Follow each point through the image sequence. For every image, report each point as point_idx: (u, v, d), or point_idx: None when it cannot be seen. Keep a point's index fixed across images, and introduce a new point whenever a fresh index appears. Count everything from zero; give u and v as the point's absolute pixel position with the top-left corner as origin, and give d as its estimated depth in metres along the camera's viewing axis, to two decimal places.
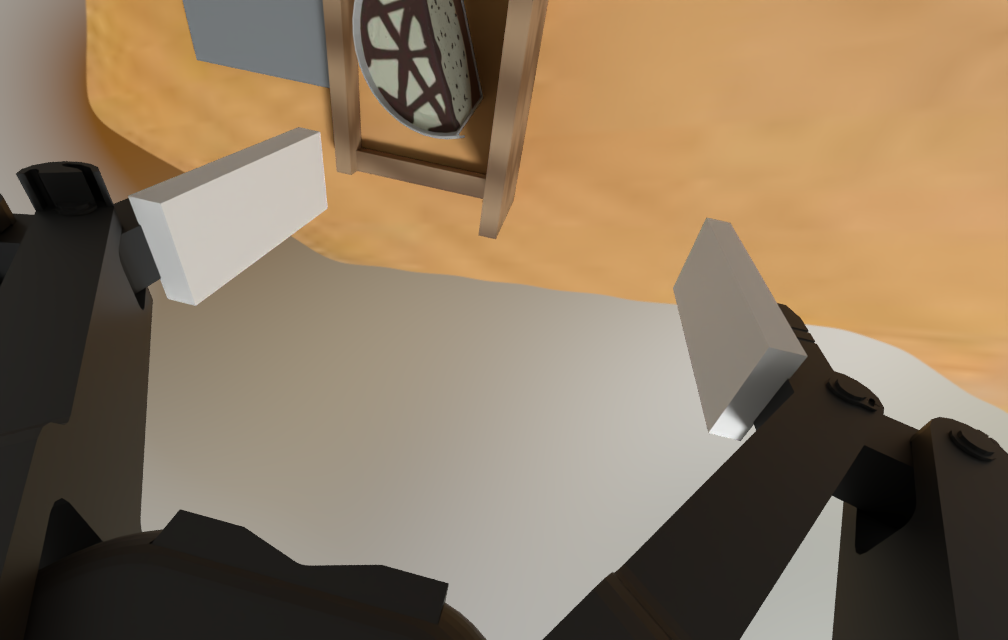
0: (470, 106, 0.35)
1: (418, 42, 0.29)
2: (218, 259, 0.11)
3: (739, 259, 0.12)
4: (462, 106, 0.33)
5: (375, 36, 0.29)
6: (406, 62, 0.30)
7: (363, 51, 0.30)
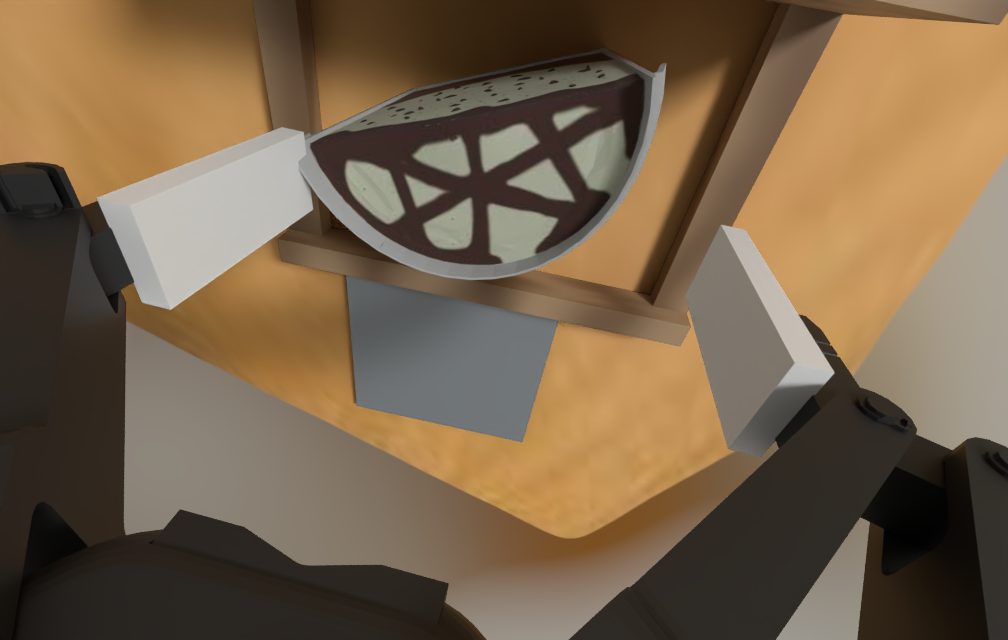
0: (606, 62, 0.16)
1: (453, 153, 0.14)
2: (194, 262, 0.11)
3: (757, 268, 0.11)
4: (597, 72, 0.14)
5: (453, 237, 0.16)
6: (492, 186, 0.14)
7: (476, 265, 0.16)
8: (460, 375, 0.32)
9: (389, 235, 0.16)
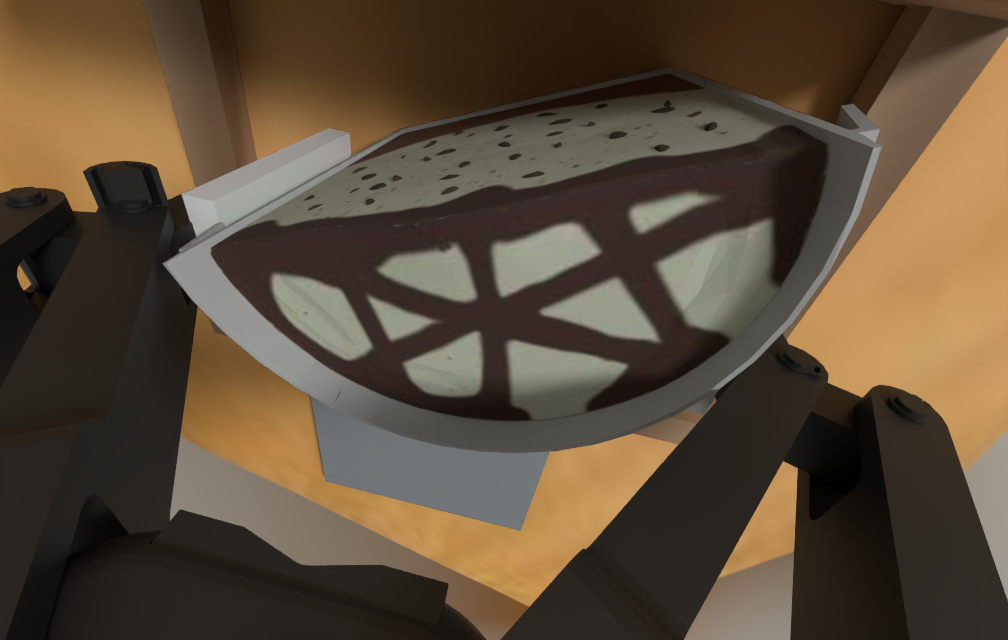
0: (695, 93, 0.10)
1: (445, 269, 0.08)
2: None
3: None
4: (695, 116, 0.08)
5: (451, 382, 0.10)
6: (515, 316, 0.08)
7: (490, 421, 0.10)
8: (444, 458, 0.26)
9: (350, 376, 0.10)
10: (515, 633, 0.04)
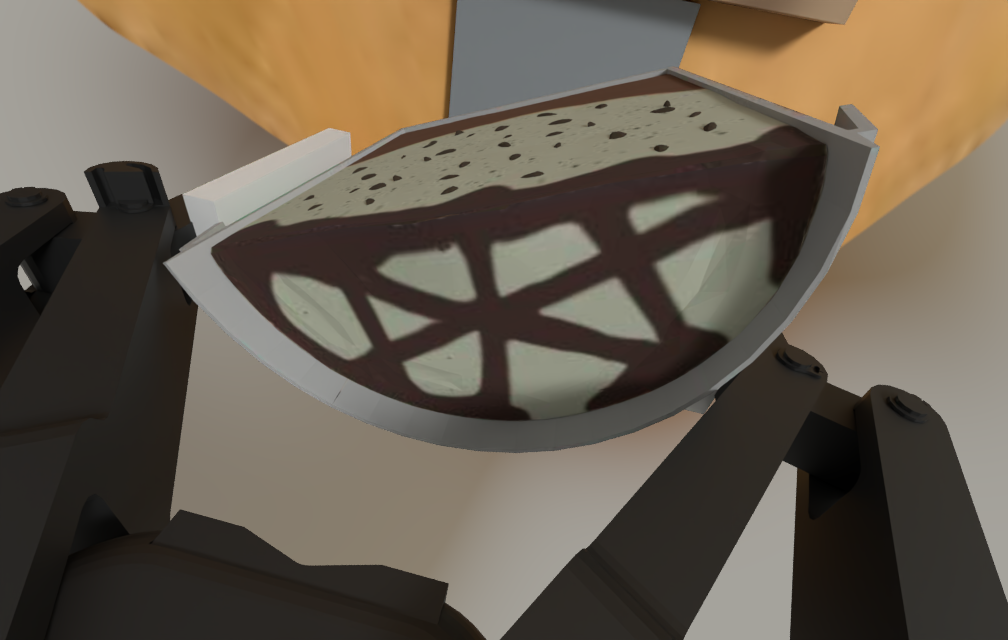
0: (695, 93, 0.10)
1: (445, 269, 0.08)
2: None
3: None
4: (694, 117, 0.08)
5: (451, 381, 0.10)
6: (514, 316, 0.08)
7: (489, 421, 0.10)
8: None
9: (351, 376, 0.10)
10: (515, 632, 0.04)
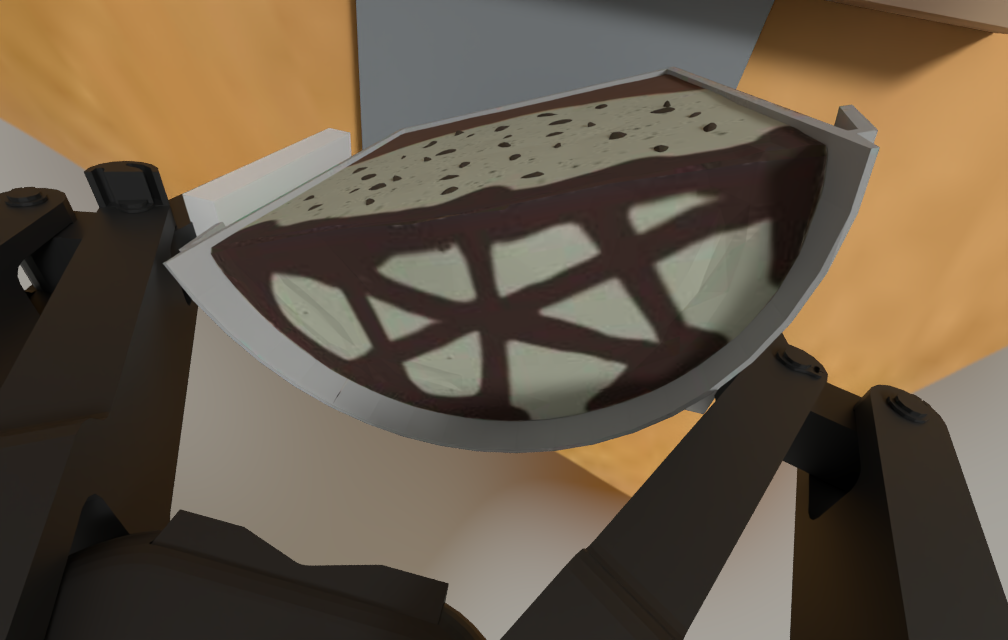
0: (695, 93, 0.10)
1: (445, 269, 0.08)
2: None
3: None
4: (694, 117, 0.08)
5: (450, 381, 0.10)
6: (515, 316, 0.08)
7: (489, 421, 0.10)
8: None
9: (351, 376, 0.10)
10: (515, 633, 0.04)
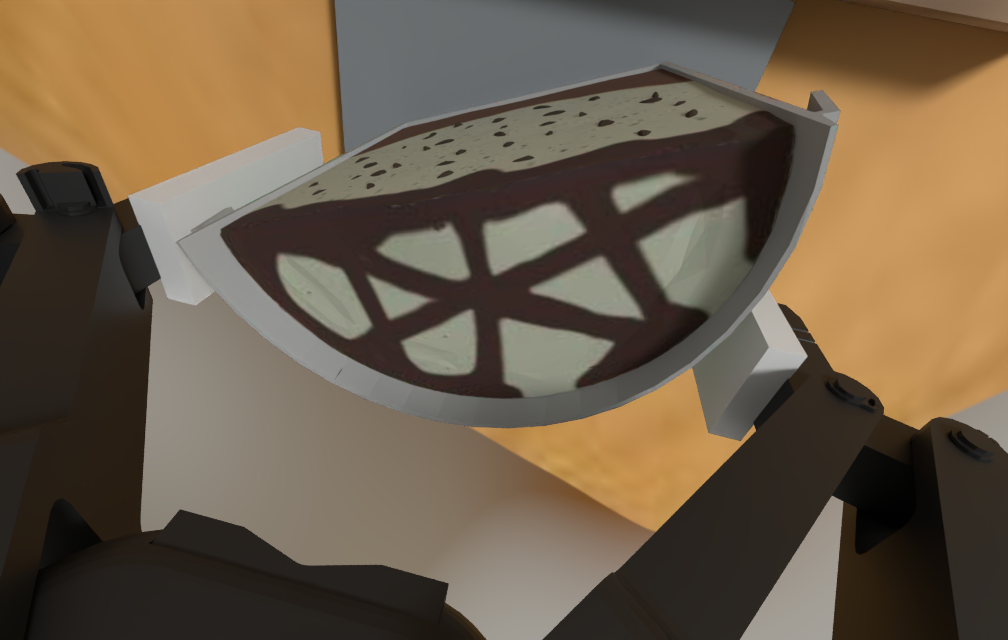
0: (683, 85, 0.10)
1: (440, 248, 0.08)
2: None
3: None
4: (679, 105, 0.09)
5: (447, 360, 0.10)
6: (506, 294, 0.09)
7: (484, 399, 0.11)
8: None
9: (352, 355, 0.11)
10: None
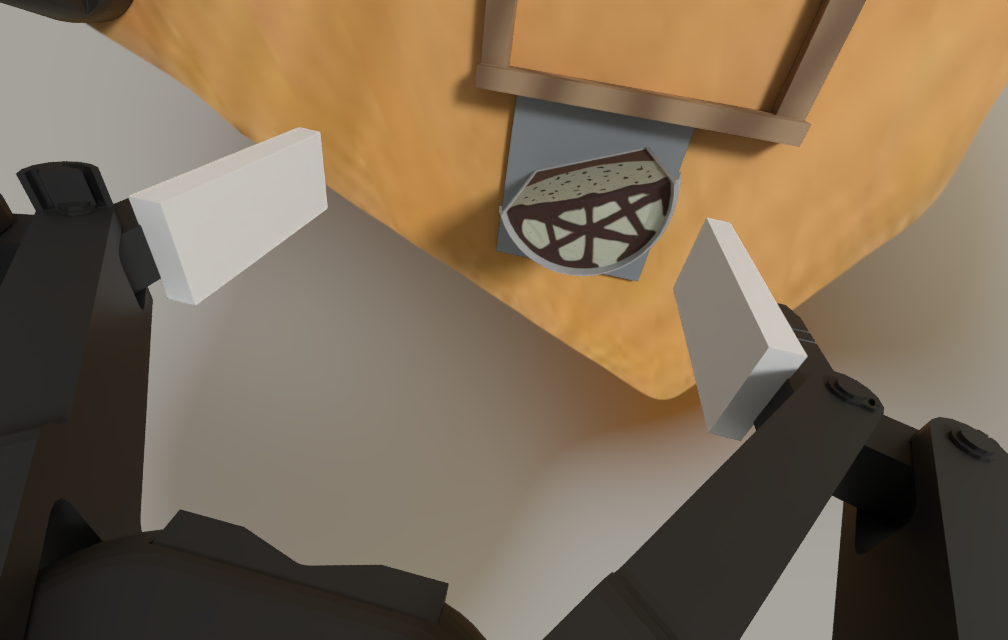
0: (651, 162, 0.31)
1: (579, 215, 0.29)
2: (218, 259, 0.11)
3: (739, 259, 0.12)
4: (647, 172, 0.30)
5: (573, 254, 0.31)
6: (596, 229, 0.30)
7: (585, 268, 0.31)
8: None
9: (539, 254, 0.32)
10: None
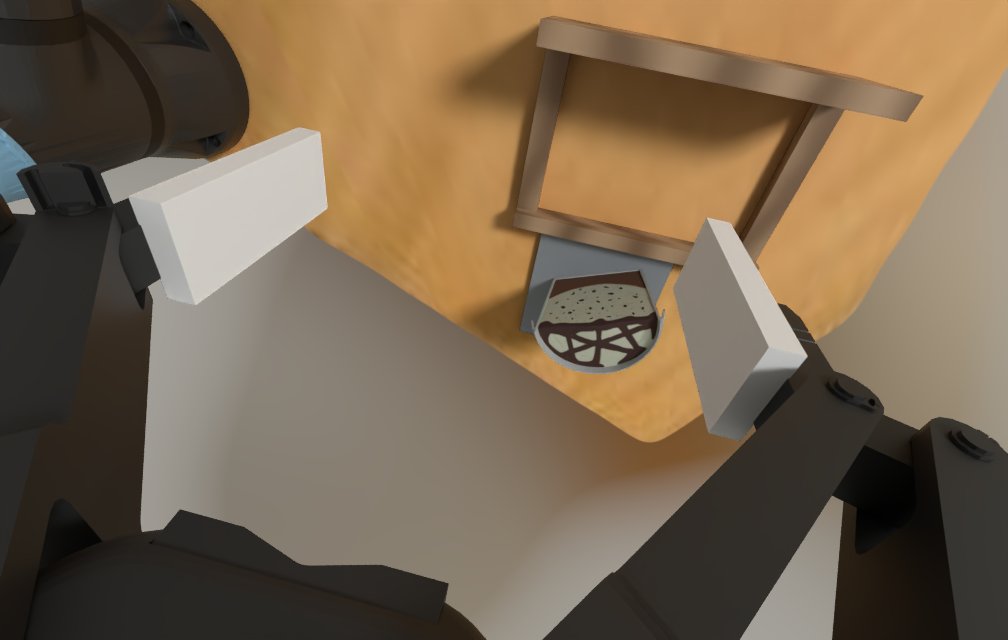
0: (643, 290, 0.42)
1: (591, 334, 0.40)
2: (218, 259, 0.11)
3: (739, 259, 0.12)
4: (641, 302, 0.41)
5: (585, 357, 0.42)
6: (603, 343, 0.41)
7: (594, 367, 0.43)
8: None
9: (560, 356, 0.43)
10: None
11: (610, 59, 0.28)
